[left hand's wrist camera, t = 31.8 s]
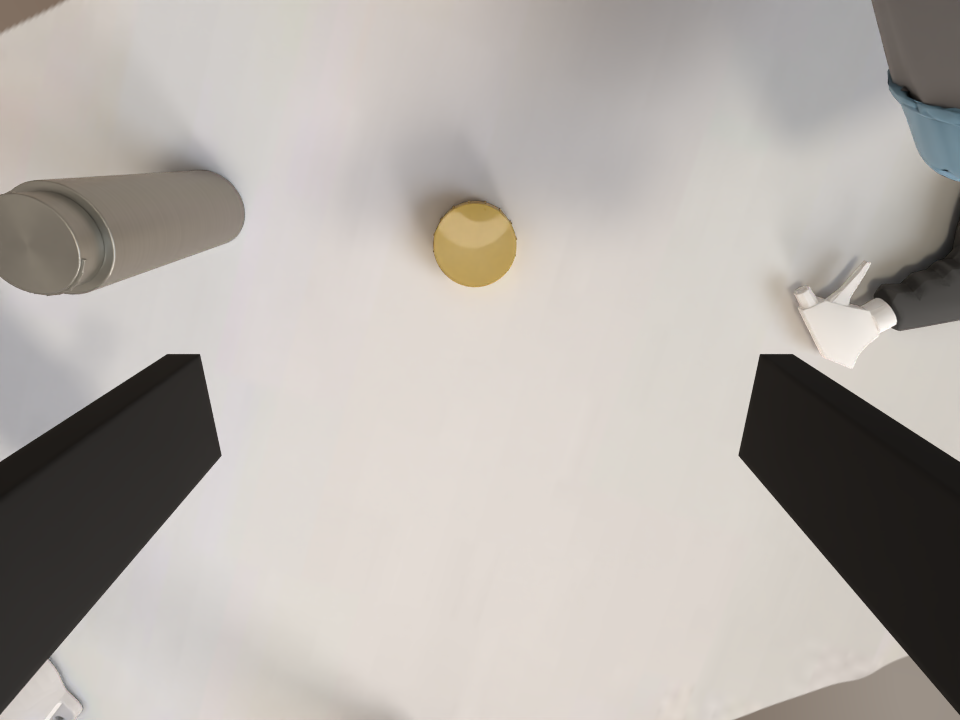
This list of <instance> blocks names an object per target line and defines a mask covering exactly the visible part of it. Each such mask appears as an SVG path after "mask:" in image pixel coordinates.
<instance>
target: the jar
mask: <svg viewBox="0 0 960 720" xmlns="http://www.w3.org/2000/svg"><path fill="white" fill-rule="evenodd" d="M244 218H245V212H244V205H243V202H242V199H241V197H240V195H239V193H238V192H237V190H236V189H235V187H234V186H233V185H232V184H231V183H230V182H229V181H228V180H226V179H225V178H224V177H222V176H220V175H219V174H217V173H214V172H211V171H206V170H193V171H177V172H161V173H145V174H129V175H113V176H97V177H81V178H65V179H49V180H34V181H29V182H25V183H22V184H20V185H18V186H16V187H15V188H14V189H12V190H11V191H9V192H7V193H5V194H1V195H0V277H1V278H3V279H4V280H5V281H7V282H8V283H10V284H11V285H13V286H15V287H17V288H19V289H21V290H24V291H27V292H31V293H34V294H41V295H47V296H50V295H60V294H63V293H64V294H83V293H88V292H91V291H94V290H97V289H99V288H102V287H105V286H108V285H111V284H113V283H116V282H119V281H122V280H125V279H127V278H130V277H133V276H136V275H139V274H141V273H144V272H147V271H150V270H153V269H155V268H158V267H161V266H164V265H167V264H169V263H172V262H175V261H178V260H181V259H183V258H186V257H189V256H192V255H195V254H197V253H200V252H203V251H206V250H209V249H211V248H214V247H217V246H220V245H223V244H225V243H228V242H230V241H231V240H233V239H234V238H235V237H236V236H237V235H238V234H239V233H240V231H241V229H242V227H243V224H244Z"/></svg>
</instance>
